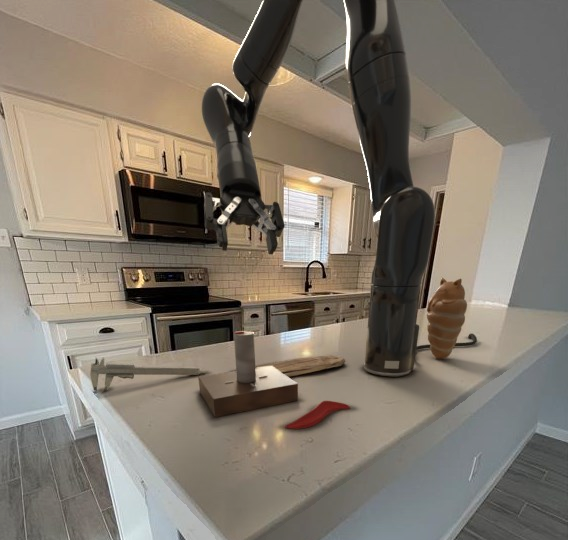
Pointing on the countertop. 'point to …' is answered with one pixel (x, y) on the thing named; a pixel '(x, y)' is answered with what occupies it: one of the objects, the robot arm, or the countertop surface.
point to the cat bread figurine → (445, 317)
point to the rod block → (247, 391)
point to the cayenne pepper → (317, 414)
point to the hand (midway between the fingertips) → (249, 249)
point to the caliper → (134, 371)
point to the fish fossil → (306, 364)
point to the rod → (245, 356)
